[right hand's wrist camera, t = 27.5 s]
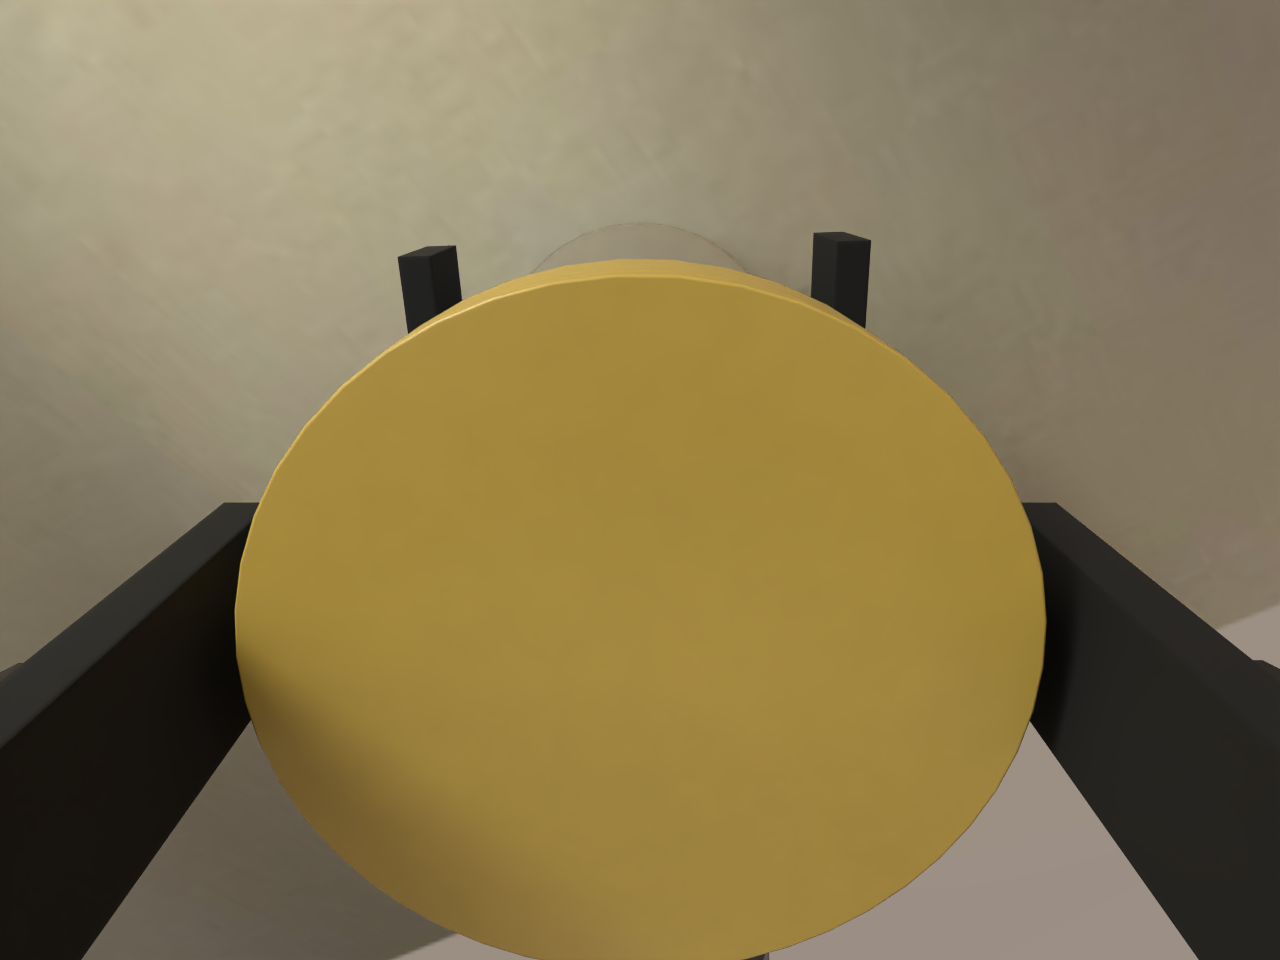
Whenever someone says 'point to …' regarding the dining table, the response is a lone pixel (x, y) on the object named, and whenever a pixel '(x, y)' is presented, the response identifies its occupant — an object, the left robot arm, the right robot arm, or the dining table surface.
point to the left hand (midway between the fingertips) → (633, 243)
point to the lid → (640, 617)
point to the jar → (639, 247)
